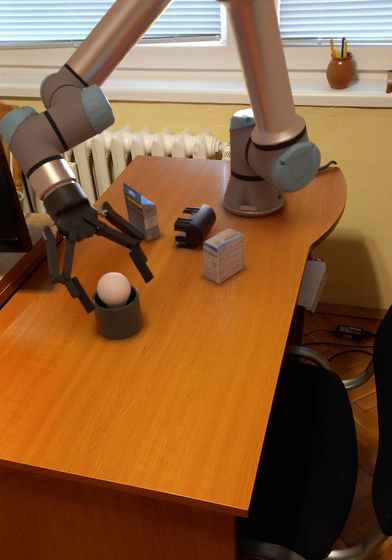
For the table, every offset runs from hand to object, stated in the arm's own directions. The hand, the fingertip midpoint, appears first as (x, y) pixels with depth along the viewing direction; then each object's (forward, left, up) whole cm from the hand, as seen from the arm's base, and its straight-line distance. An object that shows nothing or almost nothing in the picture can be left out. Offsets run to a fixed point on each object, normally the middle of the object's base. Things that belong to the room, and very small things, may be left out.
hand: (121, 295), depth 100 cm
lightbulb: (+1, -2, -8) cm, 8 cm away
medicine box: (-25, -10, -8) cm, 28 cm away
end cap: (-25, -26, -8) cm, 37 cm away
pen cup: (+1, -2, -8) cm, 9 cm away
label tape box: (-15, -35, -9) cm, 39 cm away
